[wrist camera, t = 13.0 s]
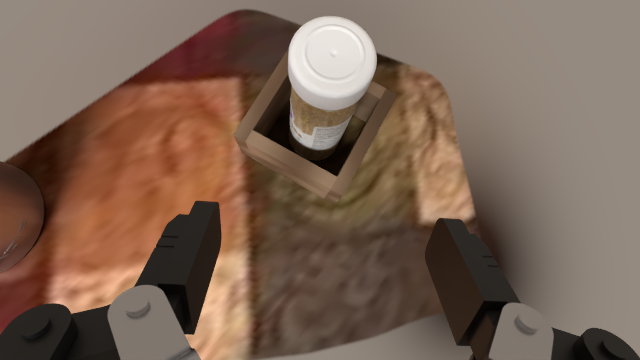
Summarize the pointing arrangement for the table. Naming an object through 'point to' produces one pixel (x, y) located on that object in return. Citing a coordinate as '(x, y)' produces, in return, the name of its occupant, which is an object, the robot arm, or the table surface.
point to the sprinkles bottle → (326, 82)
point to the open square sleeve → (292, 165)
